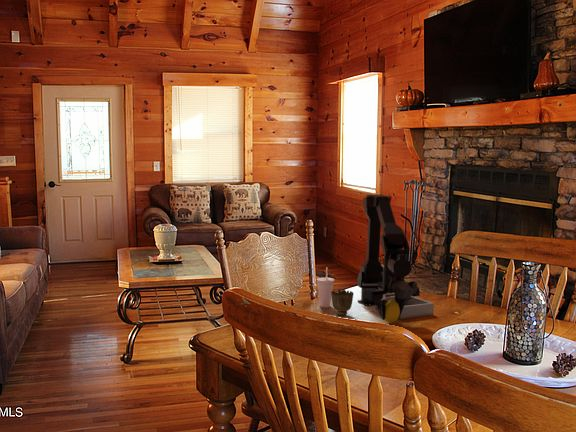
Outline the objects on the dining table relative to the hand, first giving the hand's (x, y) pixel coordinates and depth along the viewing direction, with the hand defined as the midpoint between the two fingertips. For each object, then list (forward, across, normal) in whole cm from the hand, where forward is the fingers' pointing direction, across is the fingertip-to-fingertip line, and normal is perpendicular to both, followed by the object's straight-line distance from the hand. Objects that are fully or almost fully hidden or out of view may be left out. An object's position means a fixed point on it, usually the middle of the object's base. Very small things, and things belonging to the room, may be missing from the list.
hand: (390, 318), depth 197 cm
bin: (+2, +13, +10) cm, 16 cm away
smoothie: (+2, -8, +28) cm, 29 cm away
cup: (+2, -9, +15) cm, 18 cm away
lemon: (+2, 0, 0) cm, 2 cm away
